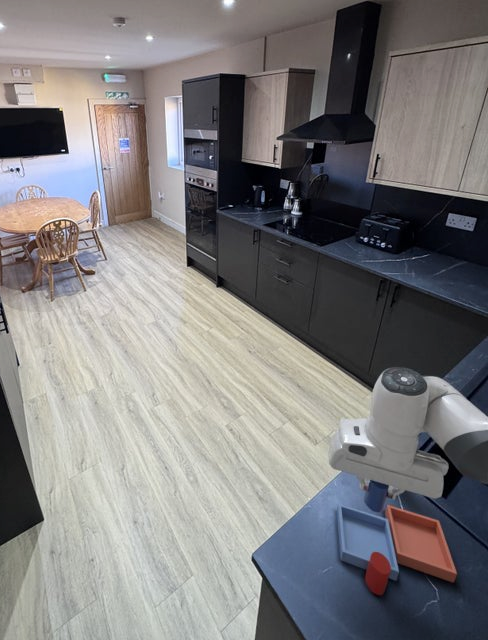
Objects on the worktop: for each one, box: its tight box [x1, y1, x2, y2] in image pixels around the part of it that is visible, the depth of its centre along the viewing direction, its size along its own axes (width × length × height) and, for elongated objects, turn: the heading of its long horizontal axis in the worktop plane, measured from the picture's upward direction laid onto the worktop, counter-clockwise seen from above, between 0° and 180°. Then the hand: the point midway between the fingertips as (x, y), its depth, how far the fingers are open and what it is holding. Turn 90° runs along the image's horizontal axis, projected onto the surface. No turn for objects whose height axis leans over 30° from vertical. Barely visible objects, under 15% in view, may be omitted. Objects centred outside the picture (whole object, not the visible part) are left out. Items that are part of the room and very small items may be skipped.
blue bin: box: [336, 503, 400, 582], centre depth 73 cm, size 11×10×3 cm
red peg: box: [364, 552, 391, 596], centre depth 66 cm, size 4×4×7 cm
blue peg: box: [363, 479, 389, 513], centre depth 68 cm, size 4×4×7 cm
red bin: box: [384, 504, 458, 583], centre depth 73 cm, size 11×10×3 cm
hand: (376, 491), depth 69 cm, fingers closed on blue peg, 3 cm apart
